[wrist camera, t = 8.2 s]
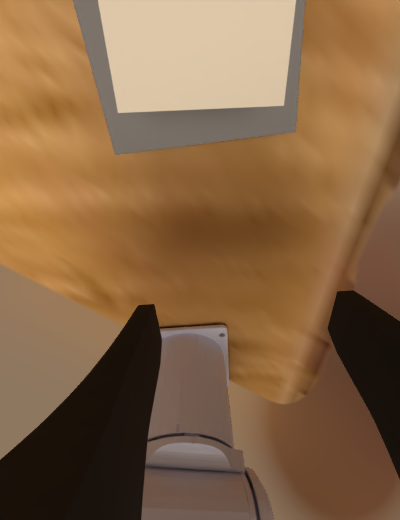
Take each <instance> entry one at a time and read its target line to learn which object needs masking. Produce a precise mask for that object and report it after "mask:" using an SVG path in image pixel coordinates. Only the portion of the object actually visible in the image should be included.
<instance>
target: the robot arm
mask: <svg viewBox="0 0 400 520" xmlns="http://www.w3.org/2000/svg"><path fill="white" fill-rule="evenodd" d="M328 331H329V333H330V336H331V339H332V341H333V344H334V346H335V348H336V351H337V353H338V355H339V357H340V359H341V361H342V362H343V364H344V366H345V368H346V370H347V372H348V373H349V375H350V377H351V379H352V381H353V382H354V384H355V386H356V387H357V389H358V391H359V393H360V395H361V397H362V398H363V400H364V402H365V404H366V406H367V407H368V409H369V411H370V413H371V415H372V417H373V419H374V421H375V423H376V425H377V427H378V430H379V432H380V434H381V436H382V439H383V441H384V443H385V445H386V448H387V450H388V452H389V454H390V457H391V459H392V462H393V464H394V467H395V469H396V471H397V474H398V476H399V478H400V321H398V320H397V319H395V318H394V317H393V316H391V315H389V314H388V313H387V312H385V311H384V310H382V309H381V308H379V307H378V306H376V305H374V304H373V303H371V302H370V301H369V300H367V299H366V298H364V297H363V296H361V295H360V294H358V293H357V292H355V291H339V292H337V295H336V299H335V303H334V306H333V310H332V314H331V318H330V322H329V326H328ZM221 333H223V334H221ZM228 387H229V367H228V334H227V327H226V326H225V325H208V326H193V327H178V328H163V329H160V328H159V323H158V319H157V315H156V310H155V306H154V304H150V305H139V306H138V307H137V308H136V310H135V311H134V313H133V314H132V316H131V317H130V319H129V320H128V322H127V323H126V325H125V326H124V328H123V329H122V331H121V332H120V334H119V335H118V337H117V338H116V339H115V341H114V342H113V343H112V345H111V346H110V347H109V349H108V350H107V352H106V353H105V354H104V355H103V357H102V358H101V359H100V361H99V362H98V363H97V364H96V365H95V367H94V368H93V369H92V370H91V372H90V373H89V374H88V375H87V376H86V377H85V379H84V380H83V381H82V382H81V383H80V384H79V385H78V386H77V388H76V389H75V390H74V391H73V392H72V393H71V394H70V395H69V396H68V397H67V399H65V400H64V402H62V403H61V404H60V405H59V407H57V408H56V410H54V411H53V413H51V414H50V415H49V416H48V417H47V418H46V419H45V420H44V421H43V422H42V423H41V424H40V425H39V426H38V427H37V428H36V429H35V430H34V431H32V432H31V433H30V434H29V435H28V436H27V437H26V438H25V439H23V440H22V441H21V442H20V443H19V444H18V445H17V446H16V447H14V448H13V449H12V450H11V451H10V452H9V453H8V454H7V455H5V456H4V457H3V458H2V459H1V460H0V520H274V516H273V512H272V508H271V504H270V500H269V497H268V495H267V492H266V490H265V488H264V486H263V484H262V483H261V481H260V480H259V477H258V476H257V474H256V473H255V471H254V470H253V469H250V468H248V467H245V465H244V458H243V451H242V450H236V449H234V442H233V434H232V424H231V416H230V406H229V397H228Z"/></svg>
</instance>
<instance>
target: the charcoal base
mask: <svg viewBox="0 0 400 520" xmlns="http://www.w3.org/2000/svg"><path fill="white" fill-rule="evenodd" d="M73 2H74V6H75V10H76V13H77V17H78V21H79V24H80V28H81V32H82V35H83V39H84V43H85V46H86V50H87V54H88V57H89V61H90V65H91V68H92V72H93V76H94V79H95V83H96V87H97V90H98V94H99V98H100V101H101V105H102V109H103V112H104V116H105V120H106V123H107V127H108V130H109V134H110V138H111V141H112V145H113V149H114V152H115V155H119V154H127V153H135V152H143V151H150V150H158V149H166V148H174V147H182V146H190V145H198V144H205V143H213V142H221V141H229V140H237V139H245V138H252V137H260V136H268V135H276V134H284V133H292V132H296V121H297V107H298V93H299V79H300V65H301V51H302V37H303V24H304V10H305V0H296V5H295V14H294V23H293V31H292V40H291V49H290V57H289V66H288V75H287V83H286V92H285V101H284V106H268V107H245V108H222V109H199V110H177V111H154V112H131V113H118V110H117V105H116V99H115V94H114V88H113V83H112V77H111V71H110V66H109V60H108V55H107V49H106V43H105V38H104V32H103V27H102V21H101V15H100V10H99V4H98V0H73Z"/></svg>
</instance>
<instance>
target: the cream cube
mask: <svg viewBox="0 0 400 520" xmlns="http://www.w3.org/2000/svg"><path fill="white" fill-rule="evenodd" d="M98 4H99V10H100V15H101V21H102V27H103V32H104V38H105V43H106V49H107V55H108V60H109V66H110V71H111V77H112V83H113V88H114V94H115V99H116V105H117V110H118V113H131V112H154V111H177V110H199V109H222V108H245V107H268V106H284V101H285V92H286V83H287V75H288V66H289V57H290V49H291V40H292V31H293V23H294V14H295V5H296V0H98Z"/></svg>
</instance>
